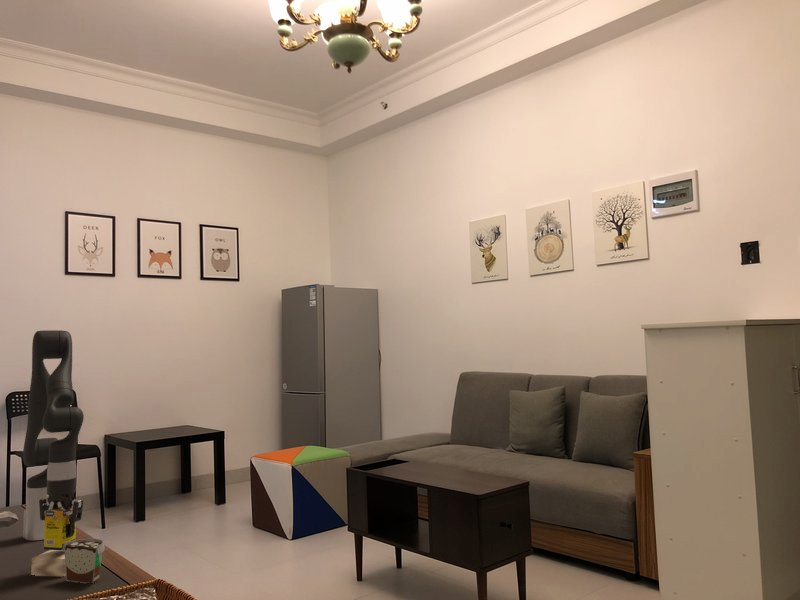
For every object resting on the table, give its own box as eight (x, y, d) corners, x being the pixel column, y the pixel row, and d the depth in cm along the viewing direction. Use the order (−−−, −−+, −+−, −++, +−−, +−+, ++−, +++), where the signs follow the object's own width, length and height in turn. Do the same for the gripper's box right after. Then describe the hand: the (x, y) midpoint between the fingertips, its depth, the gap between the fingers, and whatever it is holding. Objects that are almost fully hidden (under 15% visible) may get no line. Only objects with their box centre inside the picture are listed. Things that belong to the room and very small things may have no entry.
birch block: (31, 576, 177) (31, 558, 177) (54, 565, 187) (55, 547, 187) (64, 577, 176) (64, 559, 176) (86, 565, 186) (86, 548, 186)
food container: (114, 577, 174) (115, 539, 175) (97, 584, 168) (98, 546, 169) (80, 573, 178) (80, 536, 179) (61, 580, 172) (62, 542, 173)
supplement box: (61, 550, 178) (62, 511, 179) (43, 550, 180) (44, 510, 180) (76, 544, 184) (77, 506, 185) (58, 543, 185) (59, 505, 186)
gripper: (91, 475, 185) (90, 534, 184) (52, 473, 189) (51, 531, 188) (71, 480, 178) (70, 541, 177) (31, 478, 182) (29, 538, 181)
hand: (60, 535), depth 182 cm, fingers closed on supplement box, 6 cm apart
